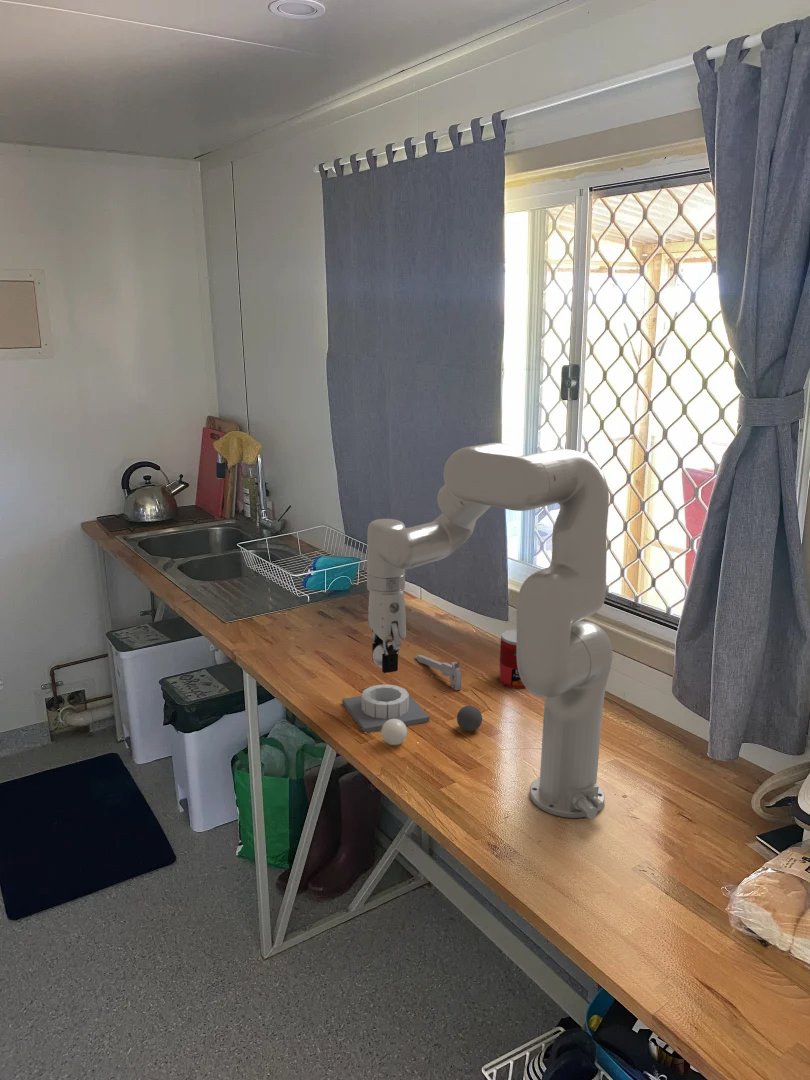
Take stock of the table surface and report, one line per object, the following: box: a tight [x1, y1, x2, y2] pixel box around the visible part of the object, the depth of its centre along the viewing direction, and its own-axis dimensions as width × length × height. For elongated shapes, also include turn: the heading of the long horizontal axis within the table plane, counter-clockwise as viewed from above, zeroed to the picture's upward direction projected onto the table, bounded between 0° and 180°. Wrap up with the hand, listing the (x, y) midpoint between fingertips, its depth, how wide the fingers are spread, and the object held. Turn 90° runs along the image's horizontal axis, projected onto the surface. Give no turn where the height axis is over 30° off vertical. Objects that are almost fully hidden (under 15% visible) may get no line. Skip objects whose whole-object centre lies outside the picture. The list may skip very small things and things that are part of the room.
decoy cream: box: [380, 719, 408, 746], centre depth 163 cm, size 5×5×5 cm
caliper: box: [414, 654, 462, 691], centre depth 195 cm, size 20×1×6 cm, turn 27°
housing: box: [341, 684, 430, 733], centre depth 176 cm, size 14×14×4 cm
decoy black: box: [456, 705, 483, 732], centre depth 169 cm, size 5×5×5 cm
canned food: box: [498, 629, 527, 689], centre depth 191 cm, size 8×8×11 cm
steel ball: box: [372, 643, 391, 669], centre depth 174 cm, size 5×5×5 cm
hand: (384, 665), depth 174 cm, fingers closed on steel ball, 5 cm apart
